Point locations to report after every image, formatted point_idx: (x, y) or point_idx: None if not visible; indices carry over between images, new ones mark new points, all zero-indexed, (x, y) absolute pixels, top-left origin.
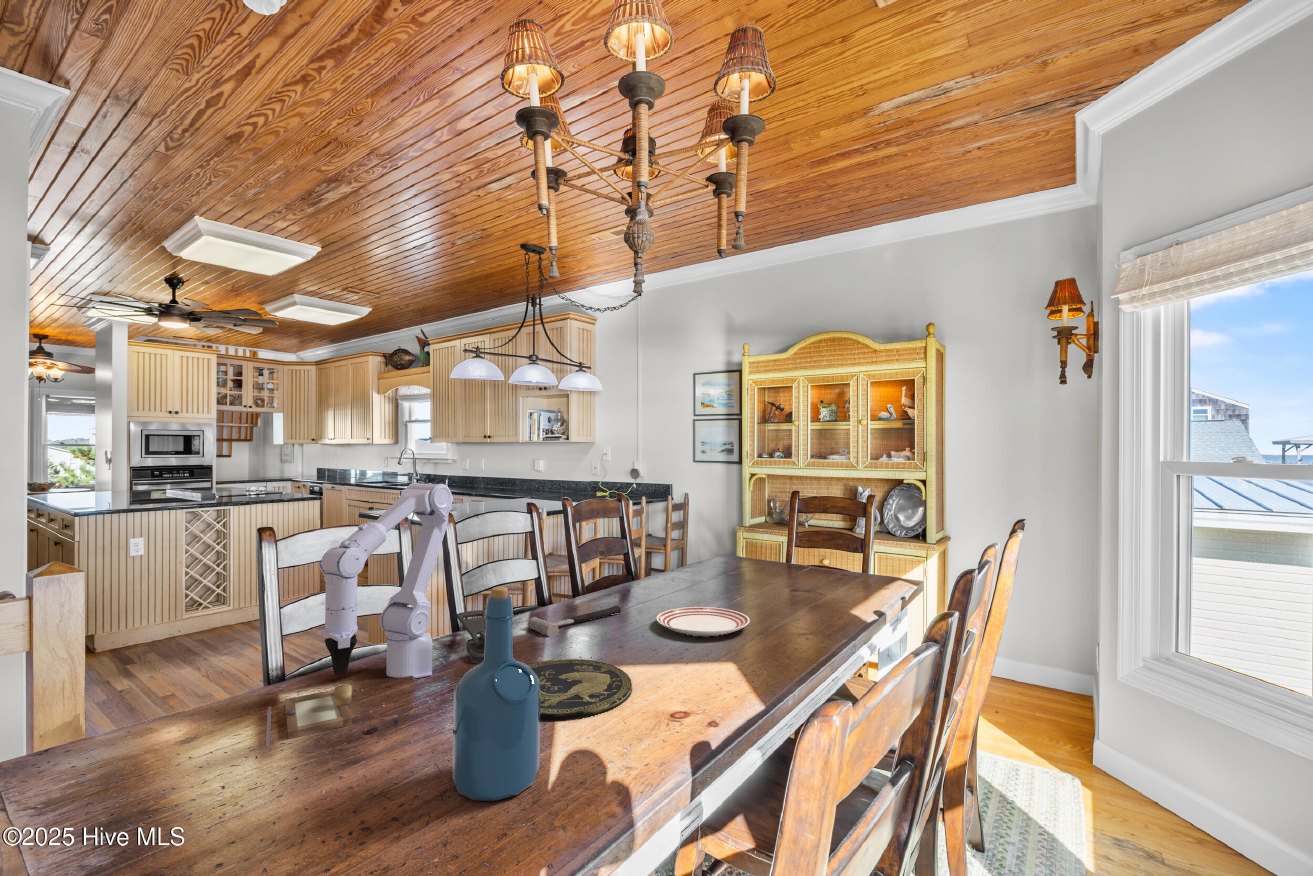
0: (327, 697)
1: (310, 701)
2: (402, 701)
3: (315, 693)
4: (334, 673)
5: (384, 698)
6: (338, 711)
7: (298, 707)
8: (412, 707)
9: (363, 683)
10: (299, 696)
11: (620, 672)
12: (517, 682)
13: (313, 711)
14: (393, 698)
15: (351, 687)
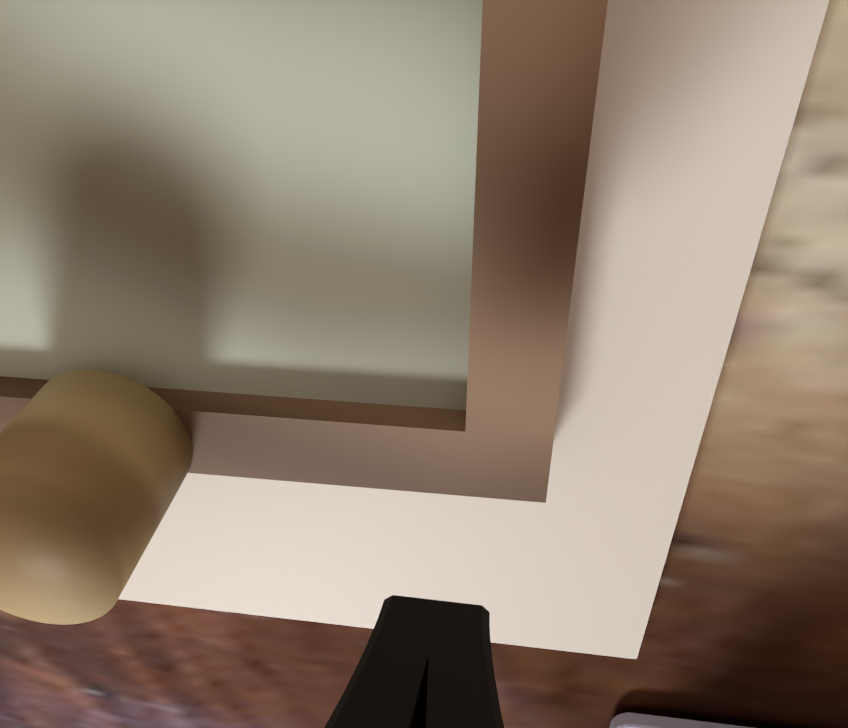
0: (445, 345)
1: (429, 173)
2: (231, 683)
3: (567, 260)
4: (387, 615)
5: (346, 633)
6: (4, 370)
7: (293, 15)
8: (106, 691)
9: (802, 611)
10: (595, 60)
11: None
12: None
13: (80, 170)
14: (313, 665)
15: (26, 612)
